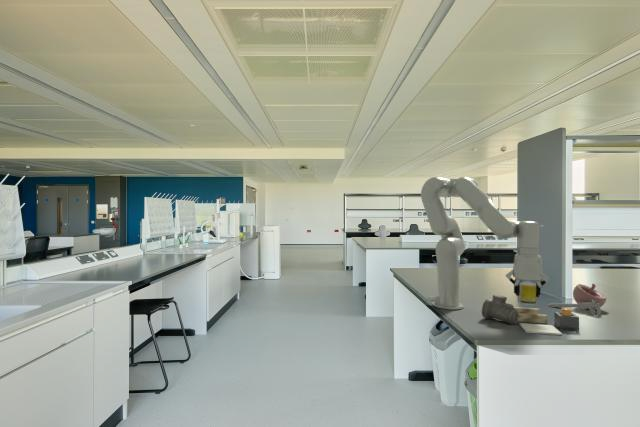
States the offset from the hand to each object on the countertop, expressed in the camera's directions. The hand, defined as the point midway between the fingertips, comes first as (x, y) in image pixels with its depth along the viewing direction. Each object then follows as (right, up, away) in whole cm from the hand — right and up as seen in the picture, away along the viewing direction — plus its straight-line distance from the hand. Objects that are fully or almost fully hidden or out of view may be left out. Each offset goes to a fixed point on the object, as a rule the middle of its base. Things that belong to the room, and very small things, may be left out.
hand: (526, 295), depth 147 cm
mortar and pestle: (+36, -10, +15) cm, 40 cm away
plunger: (+7, -7, -13) cm, 16 cm away
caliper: (+27, -10, +13) cm, 31 cm away
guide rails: (+1, -9, -1) cm, 9 cm away
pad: (-4, -9, -15) cm, 18 cm away
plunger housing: (+7, -9, -13) cm, 17 cm away
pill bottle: (0, -3, 0) cm, 3 cm away
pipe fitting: (-13, -10, -4) cm, 16 cm away
